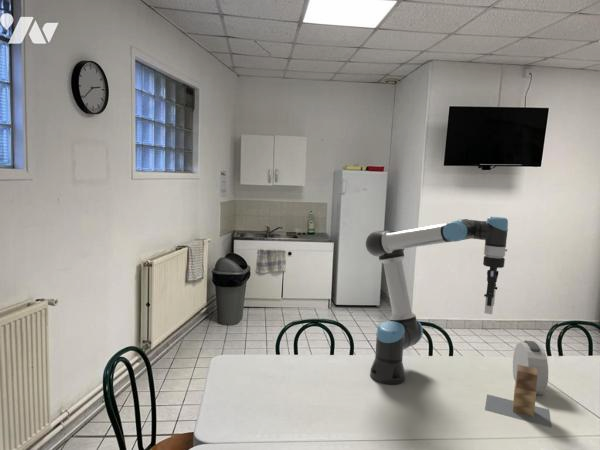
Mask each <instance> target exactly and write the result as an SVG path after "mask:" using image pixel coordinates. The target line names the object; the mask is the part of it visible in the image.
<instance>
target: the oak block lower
mask: <svg viewBox="0 0 600 450" xmlns="http://www.w3.org/2000/svg"><path fill="white" fill-rule="evenodd" d="M512 401H513V412H516V413H520V414H524V415H528V416H532V417H534V409H535V406H536V403H535V404H532V403H528V402H524V401H519V400H515V399H514V398H513V400H512Z"/></svg>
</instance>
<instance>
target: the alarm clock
mask: <svg viewBox="0 0 600 450" xmlns="http://www.w3.org/2000/svg"><path fill="white" fill-rule="evenodd" d="M548 363H549V362H548V359H547V354H546V352H545V349H544V348H543V346H542V344H539V343H537V342H536V341H533V340H524V342H523V341H520V342H517V343H516V344H515V347H514V351H513V357H512V374H513V379H514V381H516V377H517V367H518V365H522V366H527V367H531V368H536V369H537V385H536V395H539V396H540V395H541V396H543V395H544V394H545V393H546V390H547V388H548V383H549V364H548Z"/></svg>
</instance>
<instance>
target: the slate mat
mask: <svg viewBox="0 0 600 450" xmlns="http://www.w3.org/2000/svg"><path fill="white" fill-rule="evenodd" d="M485 400H486V401H485V404H484V405H485V407H484V411H487V412H490V413H494V414H498V415H503V416H506V417H510V418H514V419H517V420H522V421H524V422H528V423H533V424H536V425H539V426H540V425H541V426H543V427H549V428H553V427H552V422H551V414H550V409H549V408H544V407H539V406H537V405H535V409H534V417H532V416H528V415H524V414H520V413H516V412H513V400H512V399H507V398H503V397H500V396H496V395H492V394H486V399H485Z"/></svg>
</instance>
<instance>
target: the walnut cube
mask: <svg viewBox="0 0 600 450" xmlns="http://www.w3.org/2000/svg"><path fill="white" fill-rule="evenodd" d="M536 385H537V369H536V368H531V367H527V366H522V365H518V367H517V377H516V388H520V389H525V390H529V391H533V392H536Z"/></svg>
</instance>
